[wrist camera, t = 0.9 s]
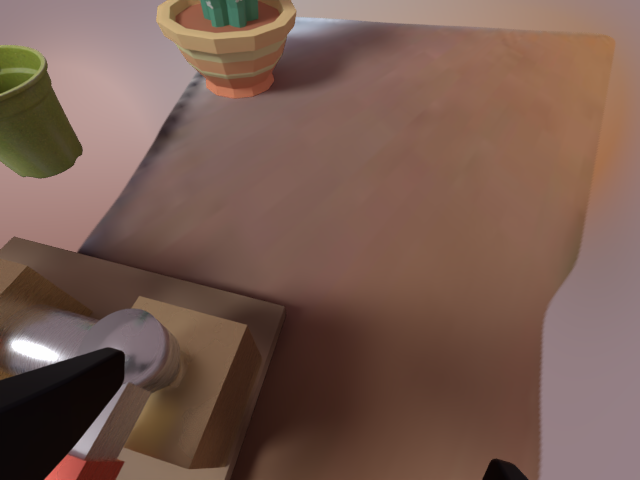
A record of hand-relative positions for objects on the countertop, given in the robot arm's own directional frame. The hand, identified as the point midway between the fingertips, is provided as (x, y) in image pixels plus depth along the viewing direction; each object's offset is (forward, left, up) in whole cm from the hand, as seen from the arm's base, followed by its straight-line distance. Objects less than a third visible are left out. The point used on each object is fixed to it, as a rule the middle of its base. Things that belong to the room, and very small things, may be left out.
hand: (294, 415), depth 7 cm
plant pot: (+17, +31, -14) cm, 38 cm away
